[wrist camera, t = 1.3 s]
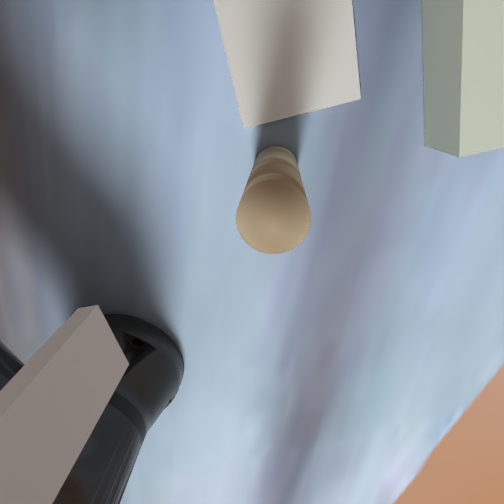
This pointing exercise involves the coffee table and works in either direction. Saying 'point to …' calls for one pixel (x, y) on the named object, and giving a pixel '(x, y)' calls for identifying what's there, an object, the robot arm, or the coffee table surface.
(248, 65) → the coaster
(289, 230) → the peg
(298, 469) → the coffee table surface
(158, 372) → the robot arm
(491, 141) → the socket block
